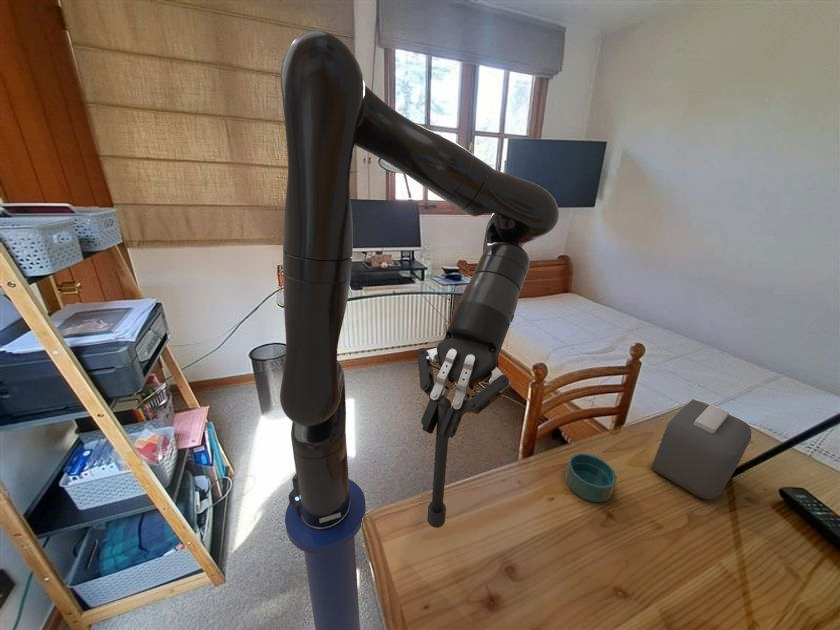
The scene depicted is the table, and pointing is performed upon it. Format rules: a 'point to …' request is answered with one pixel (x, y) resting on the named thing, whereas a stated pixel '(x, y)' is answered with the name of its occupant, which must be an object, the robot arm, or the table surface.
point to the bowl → (590, 477)
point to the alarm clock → (702, 449)
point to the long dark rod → (439, 471)
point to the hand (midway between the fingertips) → (434, 435)
